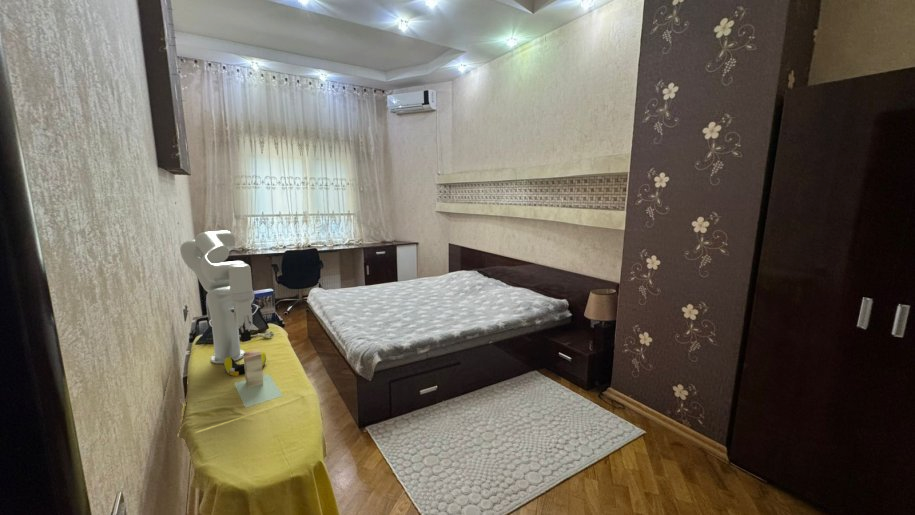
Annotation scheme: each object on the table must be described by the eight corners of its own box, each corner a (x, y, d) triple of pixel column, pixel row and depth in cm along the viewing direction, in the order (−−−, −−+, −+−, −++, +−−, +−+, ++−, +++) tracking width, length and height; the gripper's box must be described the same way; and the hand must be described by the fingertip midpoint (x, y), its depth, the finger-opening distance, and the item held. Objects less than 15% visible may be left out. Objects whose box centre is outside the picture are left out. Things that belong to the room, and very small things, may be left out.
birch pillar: (245, 382, 140) (243, 353, 138) (260, 378, 143) (258, 349, 141) (248, 388, 136) (245, 357, 134) (263, 383, 139) (261, 354, 137)
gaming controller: (225, 368, 152) (223, 379, 143) (224, 356, 151) (221, 366, 142) (266, 361, 158) (266, 372, 150) (265, 349, 157) (265, 359, 149)
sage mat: (234, 384, 139) (234, 383, 139) (268, 375, 147) (268, 373, 147) (245, 409, 124) (245, 407, 124) (283, 397, 132) (283, 395, 132)
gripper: (227, 293, 146) (231, 337, 149) (234, 301, 135) (238, 349, 138) (248, 290, 151) (252, 333, 154) (257, 298, 139) (261, 344, 142)
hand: (246, 340), depth 146 cm, fingers closed
